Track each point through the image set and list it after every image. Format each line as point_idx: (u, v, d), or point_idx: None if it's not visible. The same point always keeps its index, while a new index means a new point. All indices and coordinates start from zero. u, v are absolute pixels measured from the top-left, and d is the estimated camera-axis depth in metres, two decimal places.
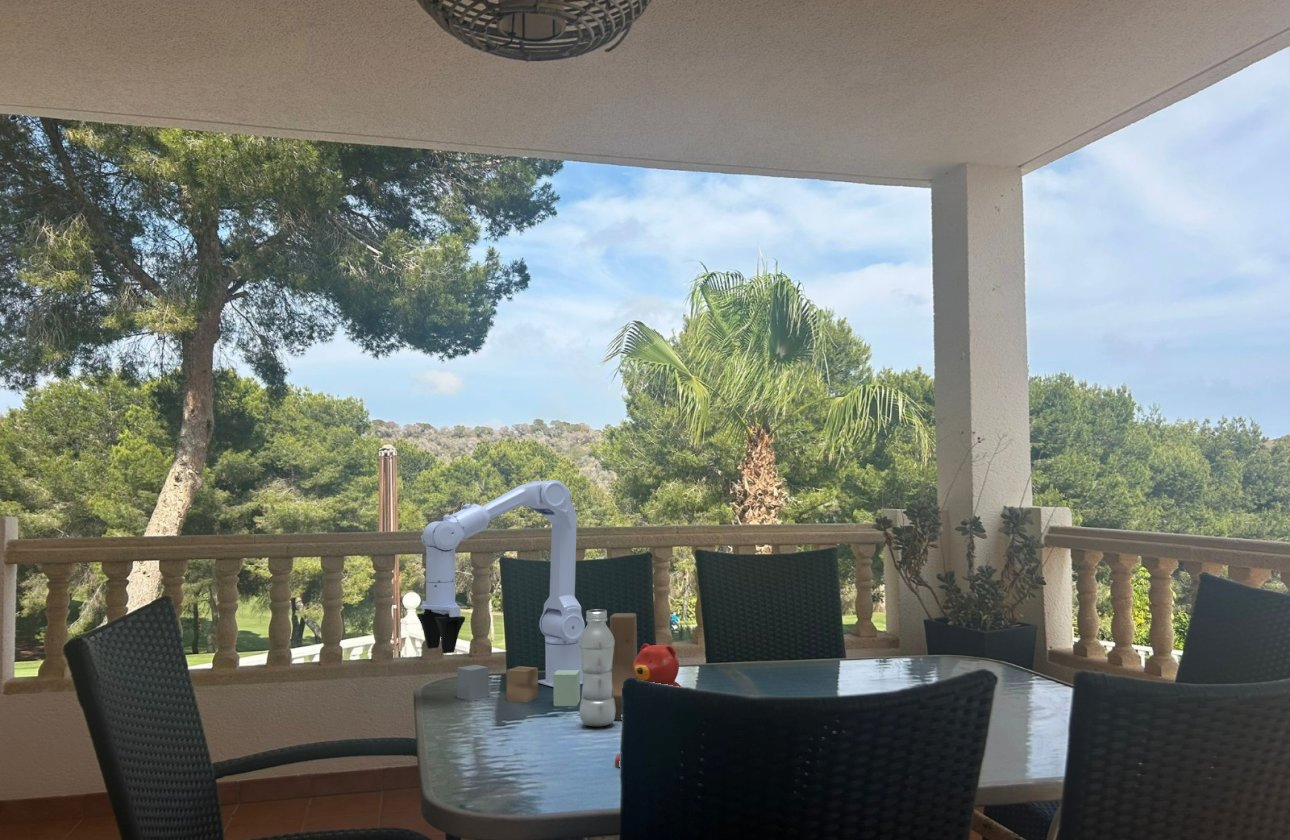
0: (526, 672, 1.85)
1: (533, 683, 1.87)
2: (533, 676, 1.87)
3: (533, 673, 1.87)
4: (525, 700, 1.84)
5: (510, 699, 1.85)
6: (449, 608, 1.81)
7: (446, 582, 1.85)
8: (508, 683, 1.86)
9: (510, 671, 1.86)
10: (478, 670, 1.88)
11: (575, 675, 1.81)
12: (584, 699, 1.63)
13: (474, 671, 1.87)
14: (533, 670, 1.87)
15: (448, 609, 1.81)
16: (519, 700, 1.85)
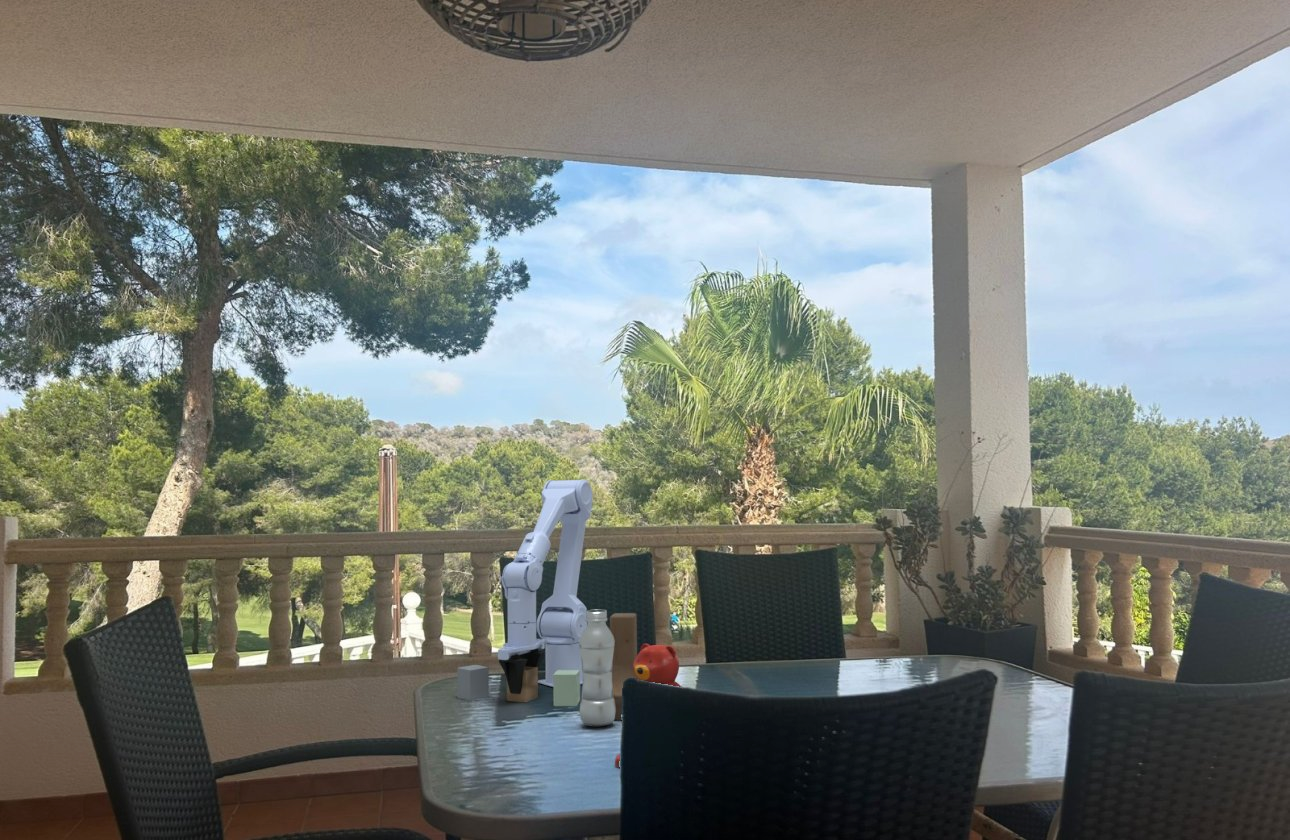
0: (526, 672, 1.85)
1: (533, 683, 1.87)
2: (533, 675, 1.87)
3: (533, 673, 1.87)
4: (525, 700, 1.84)
5: (510, 699, 1.85)
6: None
7: (514, 623, 1.86)
8: None
9: None
10: (478, 670, 1.88)
11: (575, 675, 1.81)
12: (584, 699, 1.63)
13: (474, 671, 1.87)
14: (533, 670, 1.87)
15: None
16: (519, 700, 1.85)
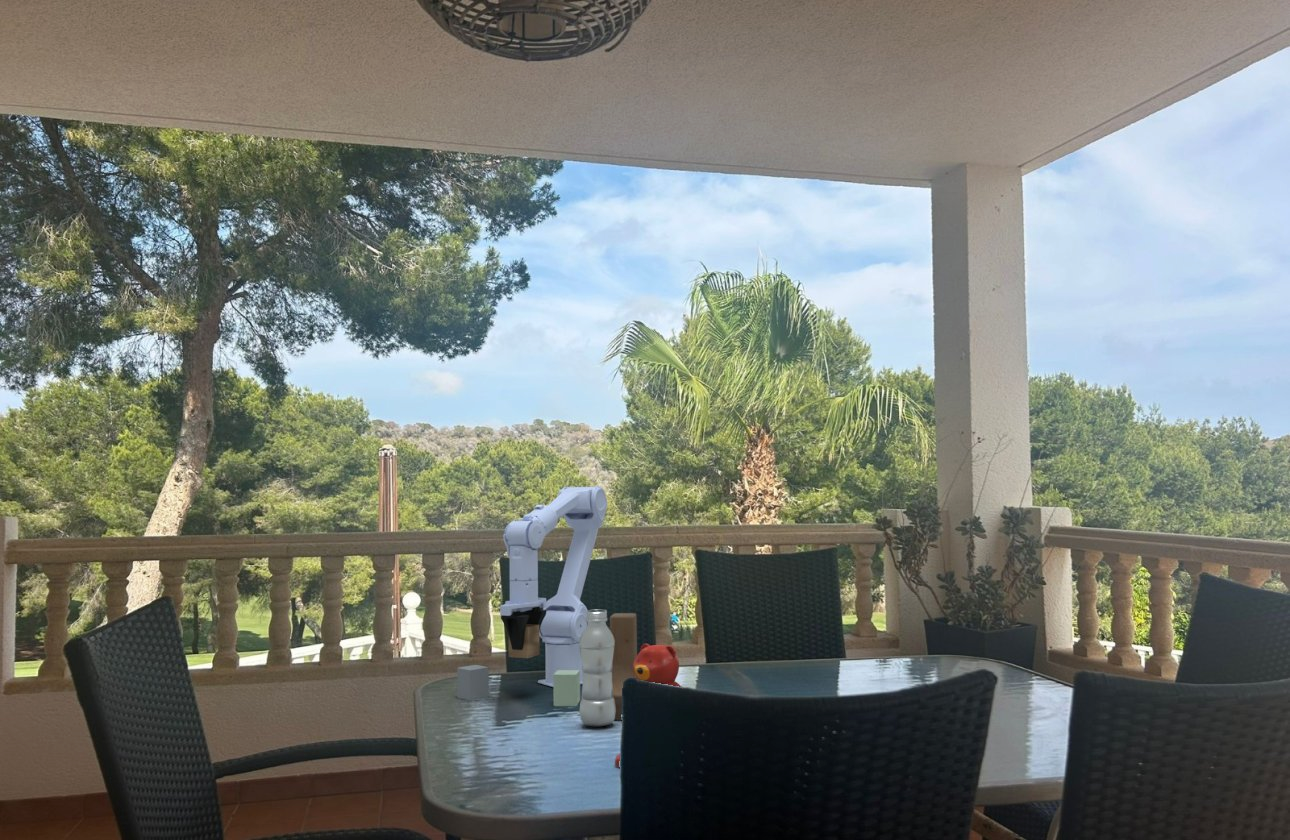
0: (528, 628, 1.87)
1: (535, 640, 1.89)
2: (535, 632, 1.89)
3: (535, 630, 1.89)
4: (527, 656, 1.86)
5: (512, 655, 1.88)
6: None
7: (516, 581, 1.88)
8: None
9: None
10: (478, 670, 1.88)
11: (575, 675, 1.81)
12: (584, 699, 1.63)
13: (473, 671, 1.87)
14: (535, 627, 1.89)
15: None
16: (521, 656, 1.87)
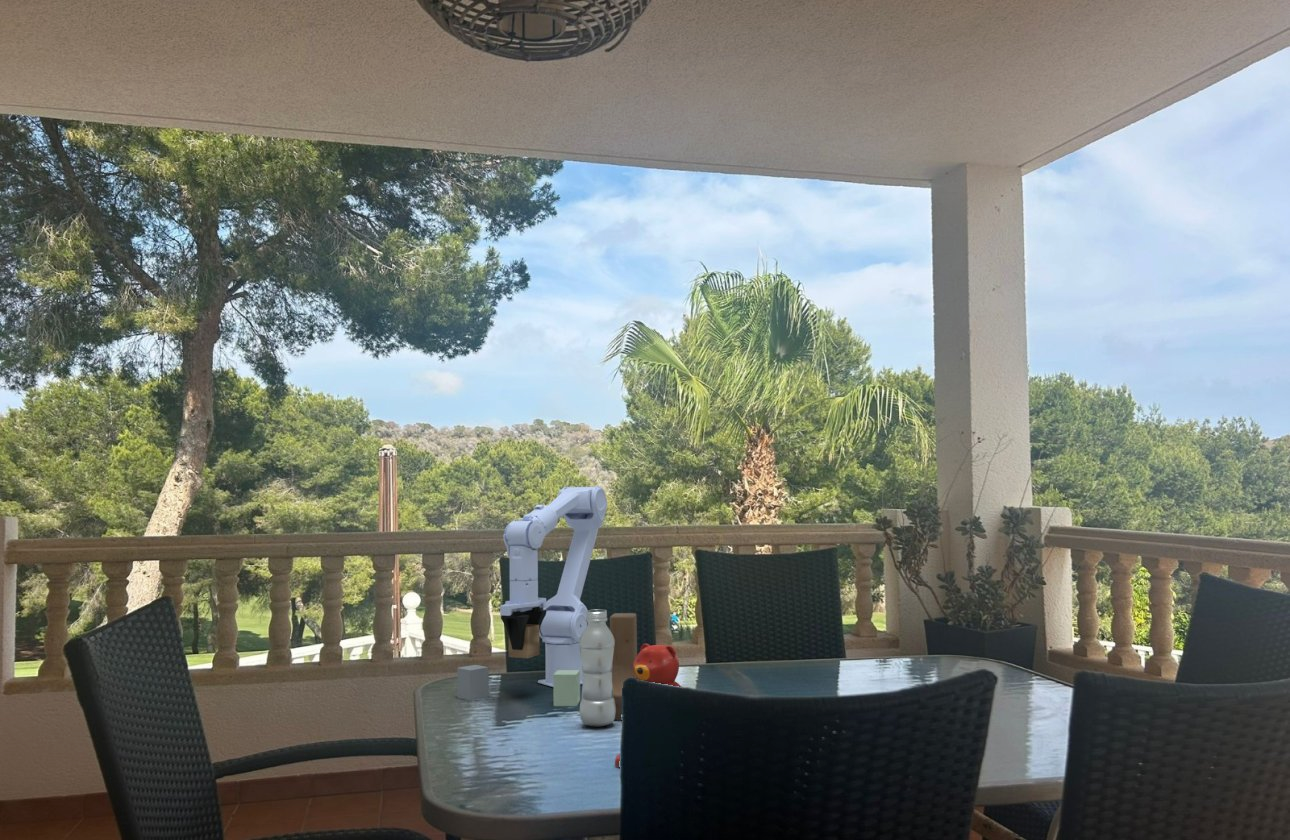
0: (528, 628, 1.87)
1: (535, 640, 1.89)
2: (535, 632, 1.89)
3: (535, 630, 1.89)
4: (527, 656, 1.86)
5: (512, 655, 1.88)
6: None
7: (516, 581, 1.88)
8: None
9: None
10: (478, 670, 1.88)
11: (575, 675, 1.81)
12: (584, 699, 1.63)
13: (473, 671, 1.87)
14: (535, 627, 1.89)
15: None
16: (521, 656, 1.87)
